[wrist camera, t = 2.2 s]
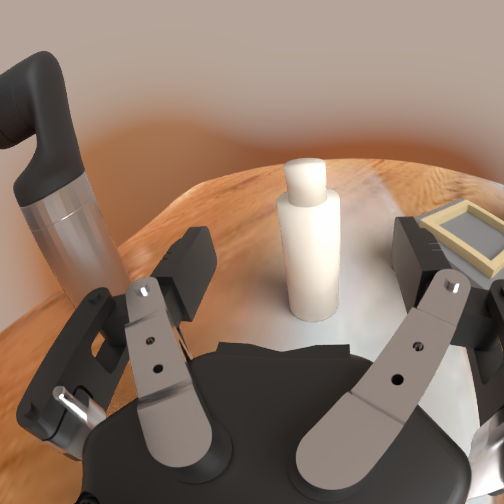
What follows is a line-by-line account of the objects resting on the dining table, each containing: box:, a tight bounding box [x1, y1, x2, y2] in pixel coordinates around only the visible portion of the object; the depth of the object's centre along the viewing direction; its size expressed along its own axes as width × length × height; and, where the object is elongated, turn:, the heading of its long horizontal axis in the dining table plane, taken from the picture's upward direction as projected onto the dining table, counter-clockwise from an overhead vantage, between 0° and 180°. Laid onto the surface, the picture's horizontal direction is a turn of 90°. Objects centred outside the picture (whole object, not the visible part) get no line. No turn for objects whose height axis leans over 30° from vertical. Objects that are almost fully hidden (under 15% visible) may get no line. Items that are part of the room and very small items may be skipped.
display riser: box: [392, 198, 504, 290], centre depth 25 cm, size 14×14×7 cm
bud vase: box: [276, 158, 340, 322], centre depth 25 cm, size 5×5×15 cm
